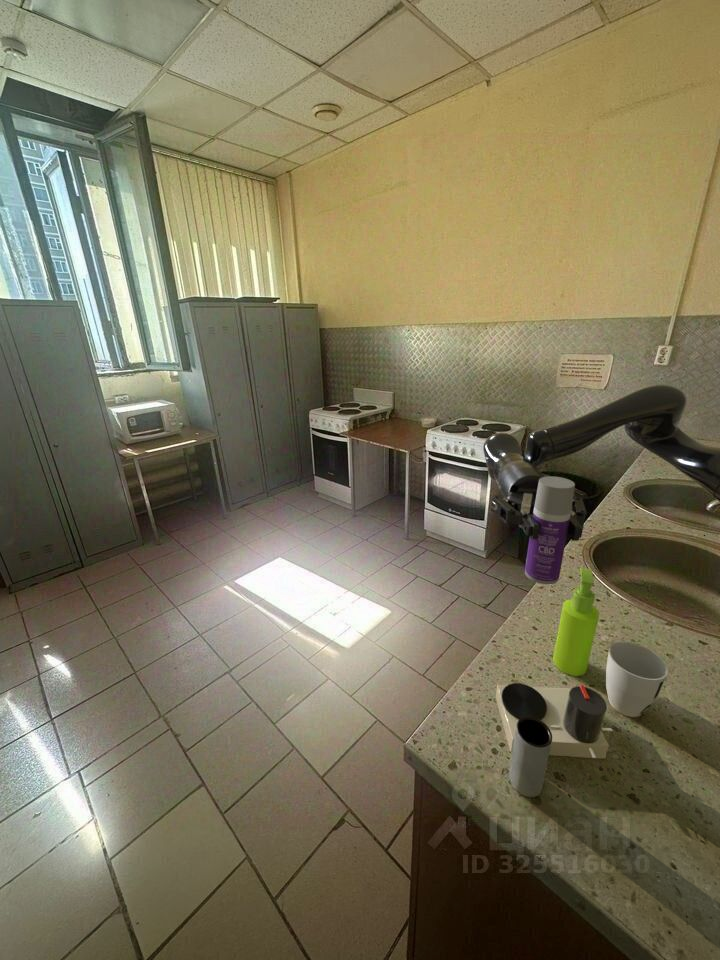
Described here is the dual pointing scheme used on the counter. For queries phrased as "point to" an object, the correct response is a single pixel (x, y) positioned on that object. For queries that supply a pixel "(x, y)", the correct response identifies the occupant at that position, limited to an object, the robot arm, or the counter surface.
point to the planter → (530, 756)
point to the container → (550, 529)
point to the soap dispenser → (577, 628)
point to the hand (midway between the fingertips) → (556, 534)
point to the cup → (633, 677)
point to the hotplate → (523, 701)
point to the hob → (554, 726)
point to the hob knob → (584, 714)
